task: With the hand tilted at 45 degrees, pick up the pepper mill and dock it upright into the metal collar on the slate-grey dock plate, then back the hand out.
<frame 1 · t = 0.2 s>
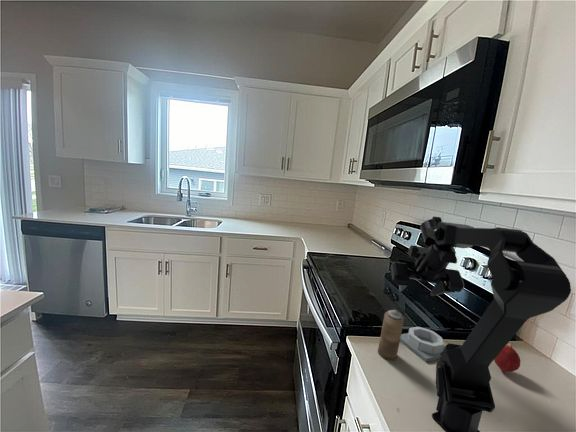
hand: (415, 292, 84), 15 cm above the countertop, tool tilted 35°, fingers open, 9 cm apart
dock: (423, 346, 82), on the countertop
mill: (387, 354, 77), on the countertop
onion: (503, 371, 75), on the countertop
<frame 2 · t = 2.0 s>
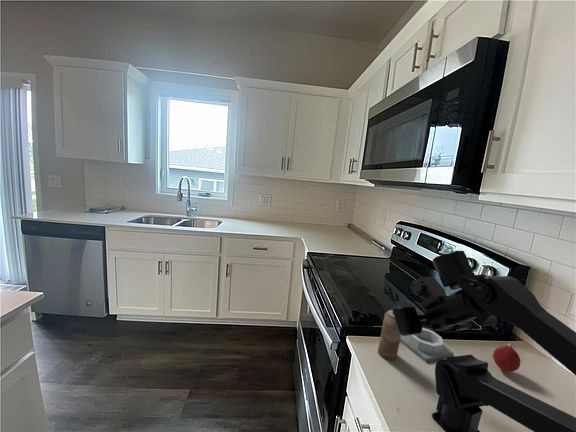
hand: (409, 326, 69), 12 cm above the countertop, tool tilted 45°, fingers open, 9 cm apart
nothing on the countertop moved.
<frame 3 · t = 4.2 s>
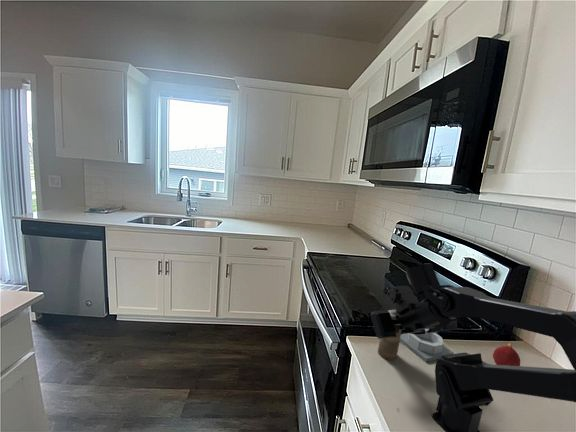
hand: (387, 329, 77), 7 cm above the countertop, tool tilted 45°, fingers closed on mill, 5 cm apart
mill: (387, 354, 77), on the countertop, touching gripper
everything else where it was.
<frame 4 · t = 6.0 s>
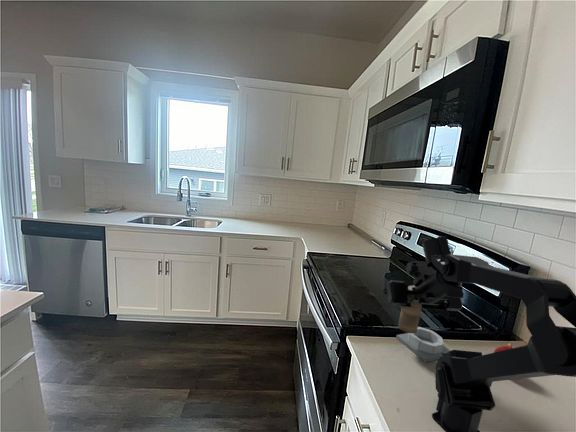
hand: (409, 304, 80), 13 cm above the countertop, tool tilted 45°, fingers closed on mill, 5 cm apart
mill: (407, 328, 80), point 6 cm above the countertop, touching gripper
everything else where it was.
when the fingers open (8 cm above the countertop, at t = 7.8 s): mill stays where it is, resting on dock.
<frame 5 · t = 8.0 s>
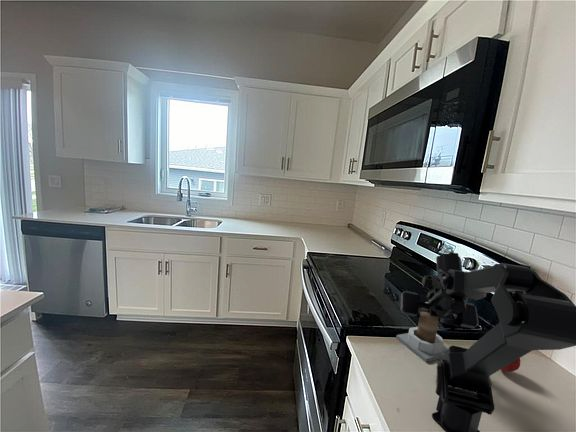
hand: (427, 317, 82), 9 cm above the countertop, tool tilted 45°, fingers open, 7 cm apart
mill: (424, 343, 82), point 1 cm above the countertop, touching dock
everything else where it was.
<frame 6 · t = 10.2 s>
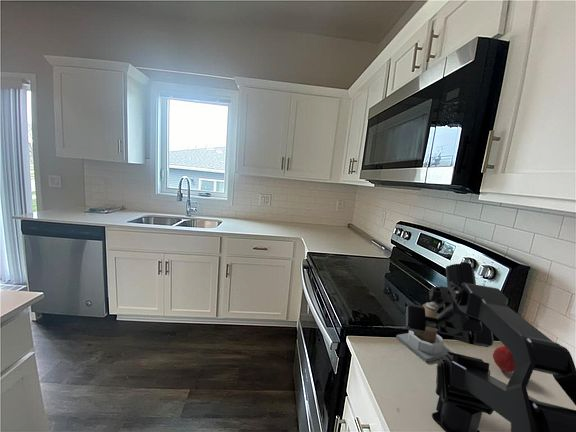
hand: (435, 333, 74), 8 cm above the countertop, tool tilted 45°, fingers open, 9 cm apart
nothing on the countertop moved.
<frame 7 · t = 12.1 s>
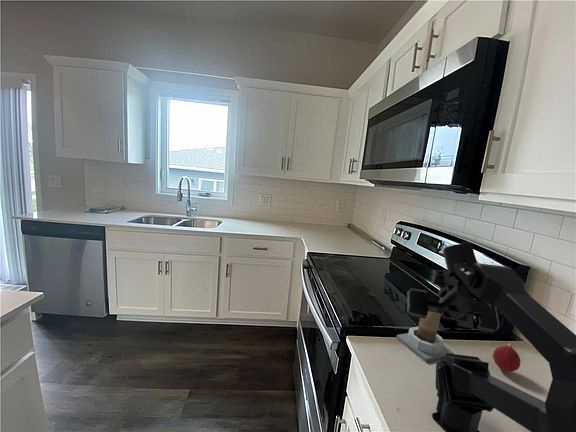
hand: (438, 319, 71), 14 cm above the countertop, tool tilted 45°, fingers open, 9 cm apart
nothing on the countertop moved.
at the end: mill 0.1 cm off-centre on the dock, point 1.0 cm above the dock's base; mill tilted 0°; the gripper is holding nothing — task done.
